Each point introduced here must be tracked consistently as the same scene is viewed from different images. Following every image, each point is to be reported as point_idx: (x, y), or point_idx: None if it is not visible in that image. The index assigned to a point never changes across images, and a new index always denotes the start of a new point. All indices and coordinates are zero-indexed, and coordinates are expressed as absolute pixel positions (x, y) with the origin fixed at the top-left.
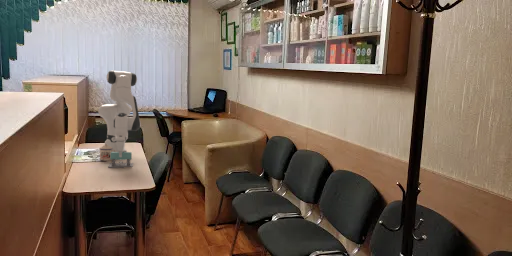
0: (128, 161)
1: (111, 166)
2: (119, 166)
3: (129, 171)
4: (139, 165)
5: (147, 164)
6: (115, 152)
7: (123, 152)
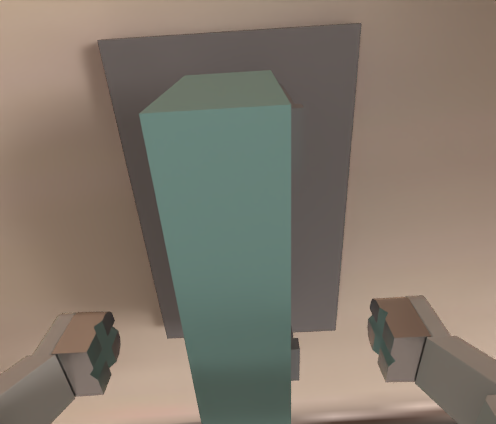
0: None
1: (113, 94)
2: (140, 209)
3: (9, 316)
4: None
5: (327, 415)
6: (213, 266)
7: (237, 421)
